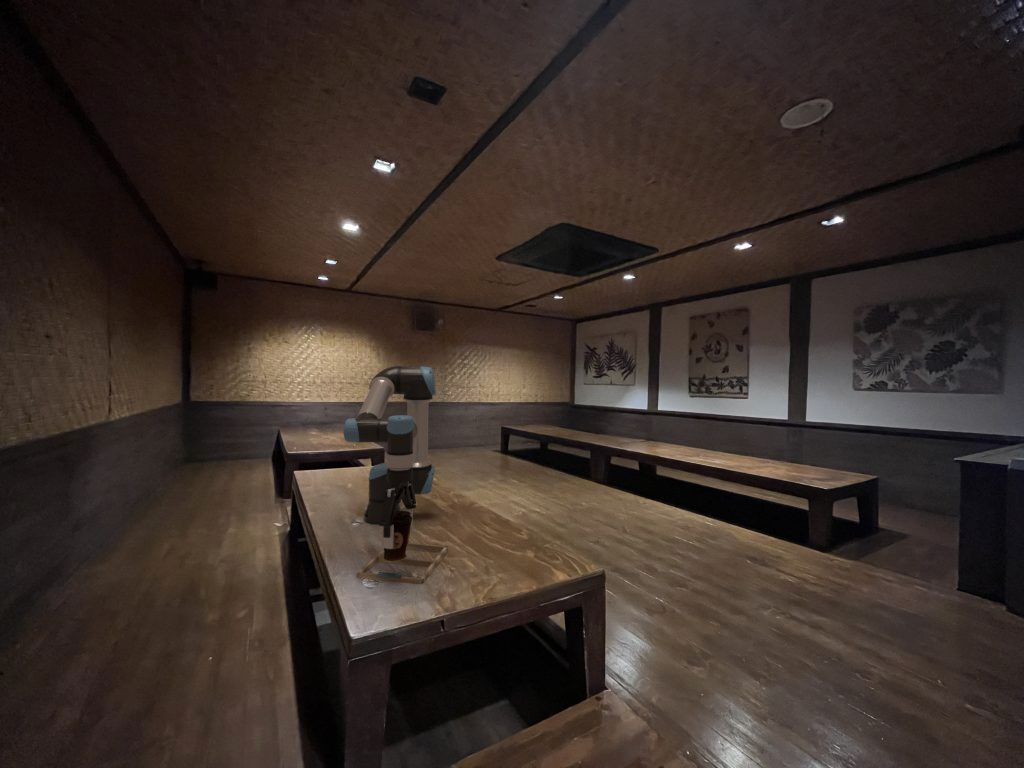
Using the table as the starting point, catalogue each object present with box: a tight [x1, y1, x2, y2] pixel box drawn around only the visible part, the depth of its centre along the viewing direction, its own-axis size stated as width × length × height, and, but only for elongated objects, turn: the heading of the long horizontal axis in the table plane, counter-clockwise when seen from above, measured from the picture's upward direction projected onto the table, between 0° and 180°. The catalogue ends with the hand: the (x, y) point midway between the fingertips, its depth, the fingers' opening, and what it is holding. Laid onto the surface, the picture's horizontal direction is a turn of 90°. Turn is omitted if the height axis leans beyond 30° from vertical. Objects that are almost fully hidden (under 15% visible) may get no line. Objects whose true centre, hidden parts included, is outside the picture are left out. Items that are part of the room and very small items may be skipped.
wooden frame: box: [355, 542, 449, 585], centre depth 123 cm, size 23×20×3 cm
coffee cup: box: [383, 510, 412, 561], centre depth 115 cm, size 9×8×13 cm
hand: (398, 538), depth 118 cm, fingers open, 13 cm apart
